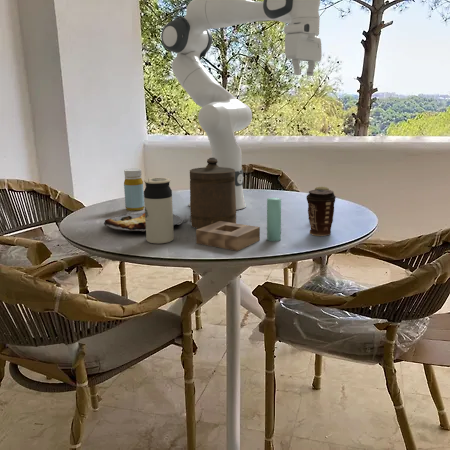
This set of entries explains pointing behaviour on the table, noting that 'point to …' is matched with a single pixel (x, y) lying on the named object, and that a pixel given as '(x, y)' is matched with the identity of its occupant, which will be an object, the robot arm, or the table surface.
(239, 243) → the socket block
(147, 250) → the table surface
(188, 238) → the table surface
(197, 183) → the wooden container
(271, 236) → the peg
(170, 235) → the travel mug
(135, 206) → the bottle
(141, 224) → the food plate
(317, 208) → the coffee cup
